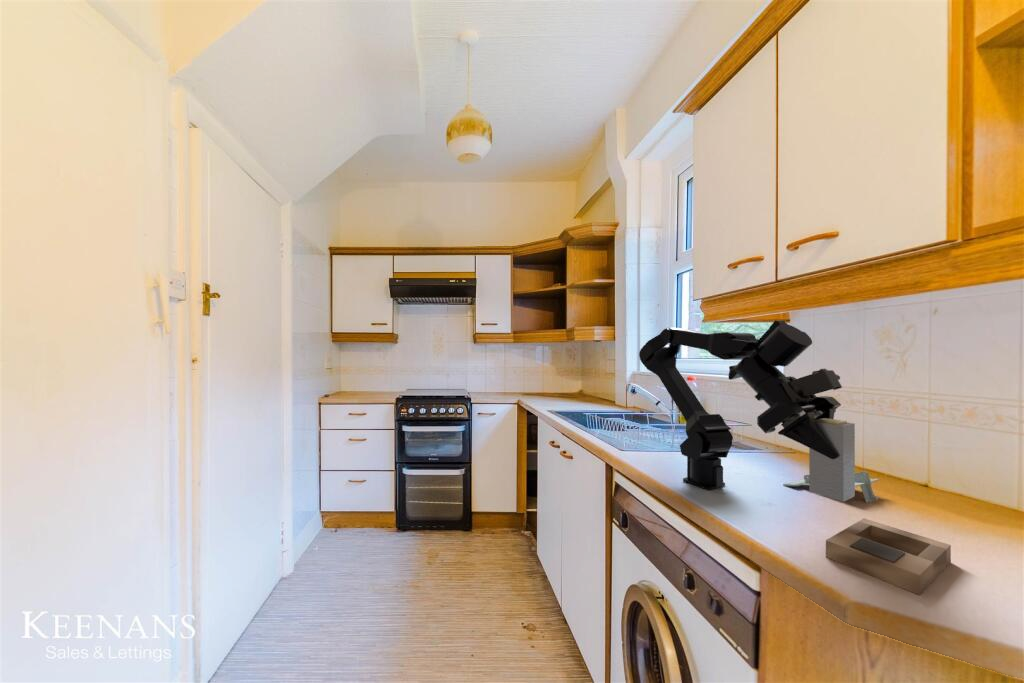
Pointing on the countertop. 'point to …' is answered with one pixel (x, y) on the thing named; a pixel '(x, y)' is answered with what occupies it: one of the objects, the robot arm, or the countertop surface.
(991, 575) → the countertop surface
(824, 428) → the grey tall block
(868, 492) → the metal bracket
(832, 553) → the plate with square hole
